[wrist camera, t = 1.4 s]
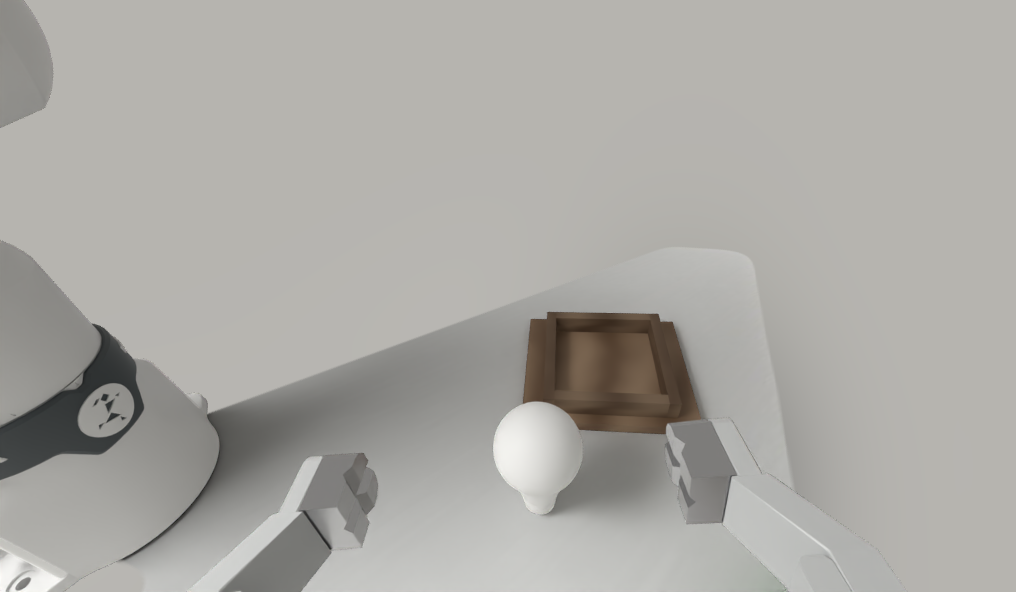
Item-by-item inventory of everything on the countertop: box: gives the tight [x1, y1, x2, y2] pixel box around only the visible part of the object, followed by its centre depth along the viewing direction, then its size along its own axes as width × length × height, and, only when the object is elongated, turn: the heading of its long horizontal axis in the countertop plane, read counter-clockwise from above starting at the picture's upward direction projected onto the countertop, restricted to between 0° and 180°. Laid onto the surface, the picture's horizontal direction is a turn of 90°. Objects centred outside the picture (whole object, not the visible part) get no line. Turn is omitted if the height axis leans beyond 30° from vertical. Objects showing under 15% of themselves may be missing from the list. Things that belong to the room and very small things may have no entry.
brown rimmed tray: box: [523, 312, 701, 434], centre depth 43 cm, size 16×14×3 cm
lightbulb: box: [493, 402, 583, 515], centre depth 31 cm, size 6×6×11 cm
